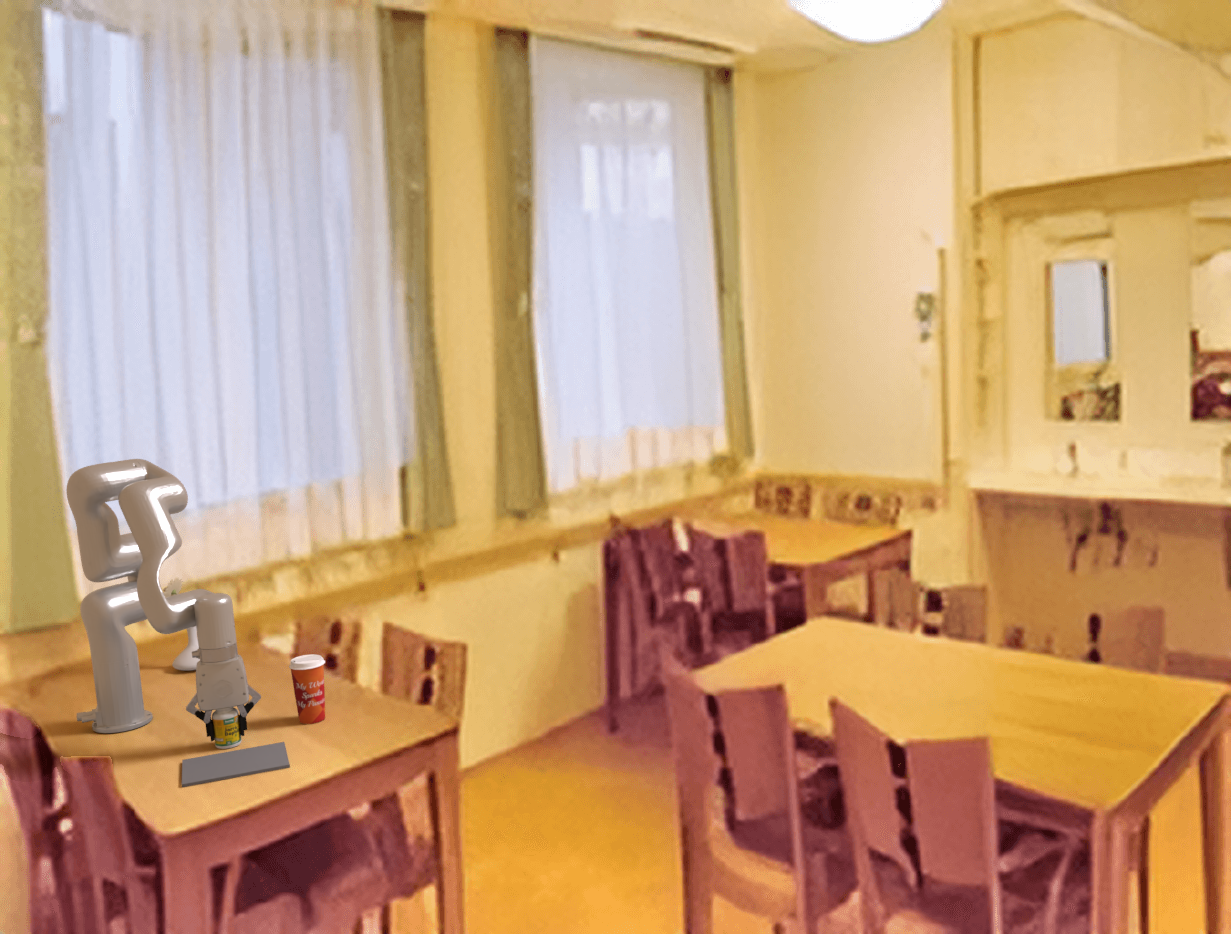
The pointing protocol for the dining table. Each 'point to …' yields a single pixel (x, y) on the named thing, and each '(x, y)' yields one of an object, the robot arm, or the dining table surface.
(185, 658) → the flower in vase
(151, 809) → the dining table surface
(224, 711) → the supplement bottle
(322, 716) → the paper cup
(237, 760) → the charcoal mat
